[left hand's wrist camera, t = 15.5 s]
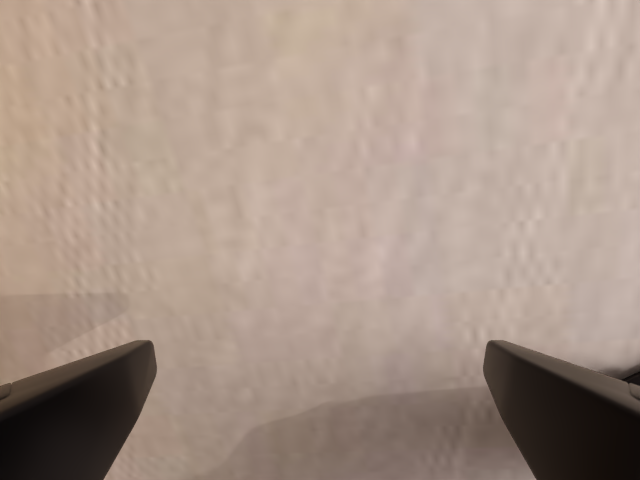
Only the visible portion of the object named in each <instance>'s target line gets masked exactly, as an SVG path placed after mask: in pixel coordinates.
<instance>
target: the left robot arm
mask: <svg viewBox="0 0 640 480" xmlns="http://www.w3.org/2000/svg"><path fill="white" fill-rule="evenodd" d="M156 372H157V365H156V358H155V352H154V346H153V343H152V342H151V341H149V340H137V341H133V342H130V343H127V344H124V345H122V346H119V347H116V348H113V349H110V350H107V351H104V352H101V353H98V354H95V355H92V356H89V357H86V358H83V359H80V360H77V361H74V362H71V363H68V364H66V365H63V366H60V367H57V368H54V369H51V370H48V371H45V372H42V373H39V374H36V375H33V376H30V377H27V378H24V379H21V380H18V381H15V382H13V383H12V385H11V383H8V384H5V385H2V386H0V480H104V478H105V476H106V474H107V472H108V471H109V469H110V467H111V465H112V464H113V462H114V460H115V458H116V457H117V455H118V453H119V451H120V450H121V448H122V446H123V444H124V443H125V441H126V439H127V437H128V436H129V434H130V432H131V430H132V429H133V427H134V425H135V423H136V421H137V419H138V417H139V415H140V413H141V411H142V408H143V406H144V403H145V401H146V399H147V396H148V394H149V391H150V389H151V386H152V384H153V382H154V379H155V377H156ZM483 372H484V377H485V379H486V382H487V384H488V386H489V389H490V391H491V394H492V396H493V399H494V401H495V403H496V406H497V408H498V411H499V413H500V415H501V417H502V419H503V421H504V423H505V425H506V427H507V429H508V430H509V432H510V434H511V436H512V437H513V439H514V441H515V443H516V444H517V446H518V448H519V450H520V451H521V453H522V455H523V457H524V458H525V460H526V462H527V464H528V465H529V467H530V469H531V471H532V472H533V474H534V476H535V478H536V480H640V372H638V373H636V374H634V375H631V376H629V377H627V378H625V379H623V380H619V379H616V378H613V377H610V376H607V375H604V374H601V373H598V372H595V371H592V370H589V369H586V368H583V367H580V366H577V365H574V364H572V363H569V362H566V361H563V360H560V359H557V358H554V357H551V356H548V355H545V354H542V353H539V352H536V351H533V350H530V349H527V348H524V347H521V346H518V345H516V344H513V343H510V342H507V341H503V340H491V341H489V342H488V343H487V346H486V352H485V358H484V365H483Z"/></svg>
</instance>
